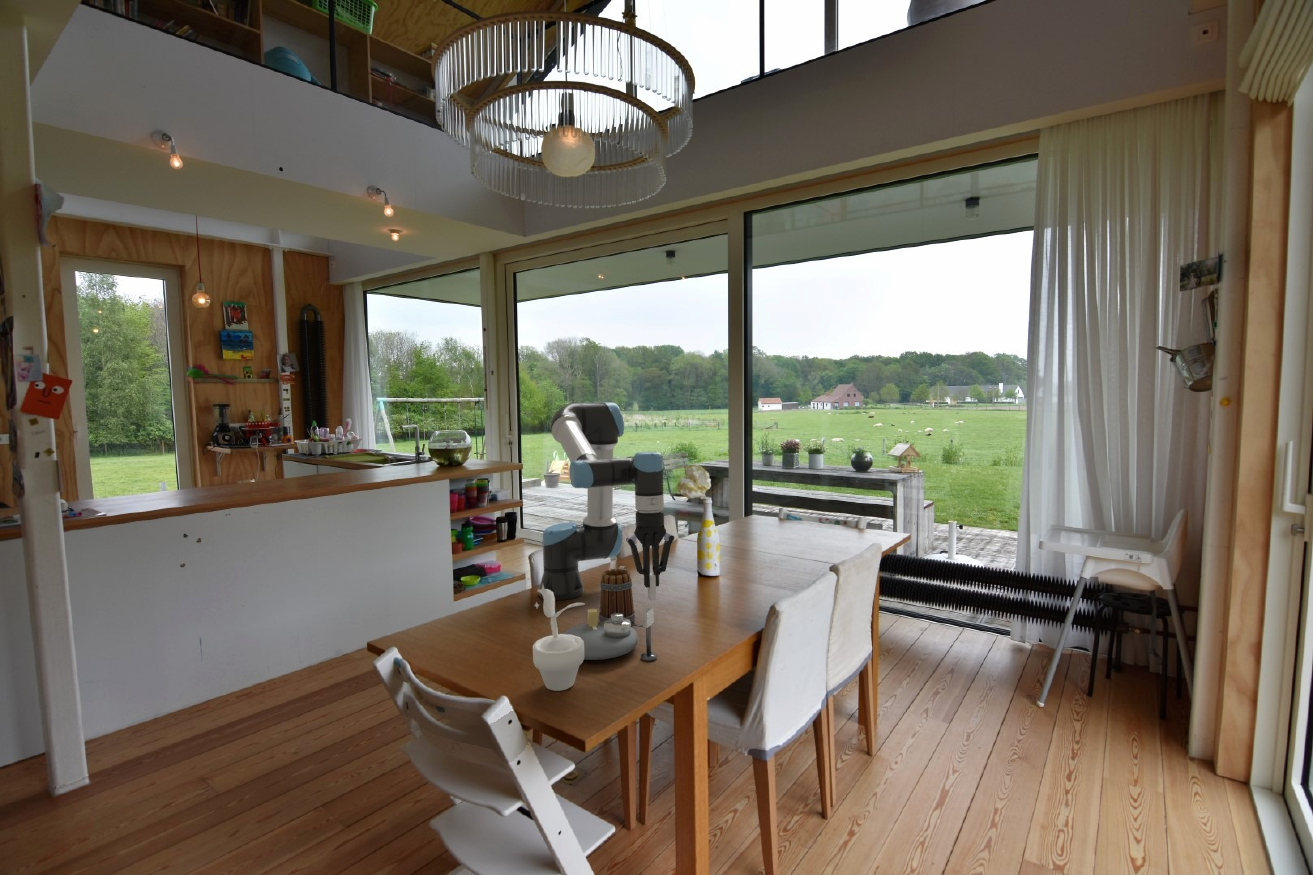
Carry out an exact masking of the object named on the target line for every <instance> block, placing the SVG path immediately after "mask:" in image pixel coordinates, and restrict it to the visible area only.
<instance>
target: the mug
mask: <svg viewBox="0 0 1313 875" xmlns="http://www.w3.org/2000/svg"><path fill="white" fill-rule="evenodd" d="M632 586H633V581H632V578H631V572H630V570H627V566H626V565H619V567H618V568H610V569H606V570H605V571H602V574H601V580H600V602H599V603H600V604H599V605H600V606H599V612H598V622H605V621H606V620H608V619H611V614H613V613H622V614H623V618H626V619H628V620H630V622H631V624H635V619H636V613H635V610H634V600H633V590H632Z"/></svg>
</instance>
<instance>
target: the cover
mask: <svg viewBox="0 0 1313 875" xmlns="http://www.w3.org/2000/svg"><path fill="white" fill-rule="evenodd" d="M630 634H631V622H630V620H628V619H626V618H623V614H622V613H613V614H611V619H608V620H606V621H605V622H604V635H605V636H606V637H608V638H612V639H620V638H625V637H628V636H629V635H630Z"/></svg>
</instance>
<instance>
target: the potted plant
mask: <svg viewBox="0 0 1313 875" xmlns="http://www.w3.org/2000/svg"><path fill="white" fill-rule="evenodd" d="M536 591H537V592H538V593H539V592H540V593H541V594H542V595H543V598H542V599H543V604H542V608H543V614H544V615H545V616H546V617H547V618H550V622H549V623H550V628H551V634H552V635H547V636H544V637H541V638H539V639H538V640H536V641H535V642H534V643H533V644H532V663H533V665H534V666H535V668H536V669H538V670H539V673H540V675H541V678H542V681H543V683H544V686H545V687H546V689H547V690H551V691H553V692H554V691H555V692H560V691H561V692H562V691H565V690H568V689H569V688H571V687H573V686H574V684H575V682H576V678H577V675H578V672H579V668H580V666H581V665H582V664H583V663H584V660H585V659H584V641H583V640H582V639H581V638H580V637H577V636H574V635H567V634H563V633H558V632H559V631H558V624H557V623H558V622H557V617H559V616H560V615H561V614H562V613H563V612H564V611H565V610H568V609H570V608H573V607H578V606H579V607H580V606H586V603H585V602H574V603H571V604H568V605H567V606H566V607H564V608H562V609H560V610H559V611H557V612H556V602H555V601H556V600H555V597H554V594H553V592H552V591H550V590H549V589H544V586H542V589H541V590H539V589H537V590H536ZM539 606H540V604H538V602H537V601H535V604H534V605H533V607H536V609H538V608H539Z"/></svg>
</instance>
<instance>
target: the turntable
mask: <svg viewBox="0 0 1313 875" xmlns="http://www.w3.org/2000/svg"><path fill="white" fill-rule="evenodd" d="M586 613H587V623H584V624H578V625H576V626H573V627H570V628H568V629H567V630H565V631H564V632H562V634H567V635H574V636H577V637H580V638H581V639H582V640H583V641H584V660H586V661H587V660H589V661H590V660H591V661H594V660H595V661H597V660H599V661H600V660H607V659H613V658H617V657H620V656H623V655H626V654H628V653H630V652H631V651H633V650H634V649H635V648H637V645H638V632H637V631H636V630H635V628H634V627H631V634H630V635H629V636H628V637H625V638H620V639H612V638H608V637H606V636H605V635H604V622H600V621H599V612H598V610H597V608H591V609H587V612H586Z"/></svg>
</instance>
